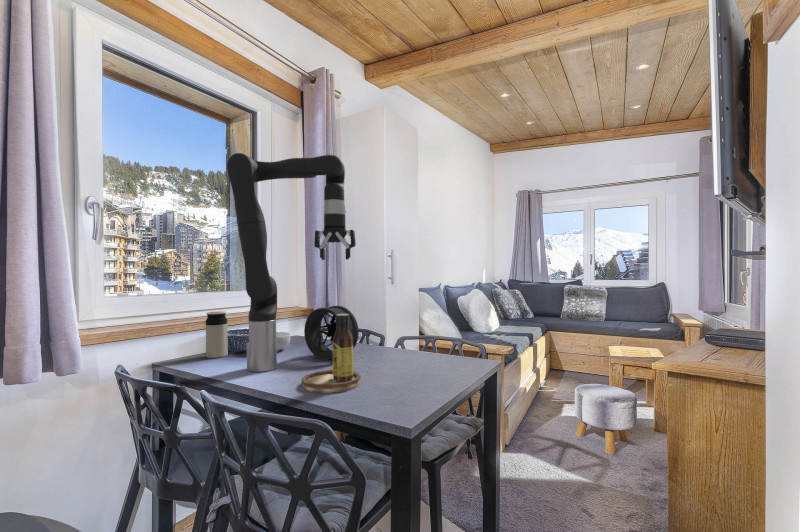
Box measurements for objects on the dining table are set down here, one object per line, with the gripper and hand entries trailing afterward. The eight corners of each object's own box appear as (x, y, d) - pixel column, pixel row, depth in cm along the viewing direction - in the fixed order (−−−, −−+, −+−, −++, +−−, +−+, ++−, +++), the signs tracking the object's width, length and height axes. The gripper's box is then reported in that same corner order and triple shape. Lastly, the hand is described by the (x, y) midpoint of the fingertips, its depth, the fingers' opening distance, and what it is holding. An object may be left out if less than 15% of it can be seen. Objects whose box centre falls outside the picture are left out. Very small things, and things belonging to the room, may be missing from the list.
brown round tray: (294, 392, 114) (294, 385, 114) (312, 376, 131) (312, 369, 131) (353, 393, 112) (353, 385, 112) (364, 376, 129) (363, 369, 129)
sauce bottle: (333, 377, 124) (332, 313, 124) (354, 376, 125) (353, 312, 125) (332, 383, 118) (330, 315, 118) (353, 382, 118) (352, 315, 118)
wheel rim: (359, 357, 157) (358, 306, 157) (344, 362, 149) (343, 308, 149) (320, 352, 167) (319, 304, 167) (304, 357, 159) (303, 306, 159)
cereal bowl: (284, 354, 165) (284, 337, 165) (243, 355, 165) (243, 338, 165) (295, 346, 182) (294, 330, 182) (258, 347, 182) (258, 331, 182)
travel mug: (225, 357, 160) (224, 312, 160) (203, 359, 159) (203, 313, 159) (229, 353, 168) (229, 310, 168) (209, 354, 167) (208, 311, 167)
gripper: (311, 213, 139) (312, 259, 138) (352, 211, 137) (353, 259, 137) (317, 215, 146) (318, 260, 146) (356, 214, 145) (357, 259, 145)
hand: (335, 259), depth 142 cm, fingers open, 8 cm apart
